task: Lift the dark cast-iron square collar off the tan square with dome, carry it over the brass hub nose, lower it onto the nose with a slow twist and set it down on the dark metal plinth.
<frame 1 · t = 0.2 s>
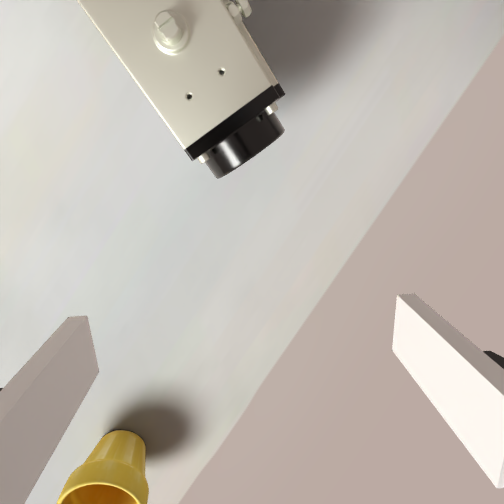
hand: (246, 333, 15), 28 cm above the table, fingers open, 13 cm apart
ball valve: (201, 73, 37), on the table
plant pot: (123, 445, 51), on the table
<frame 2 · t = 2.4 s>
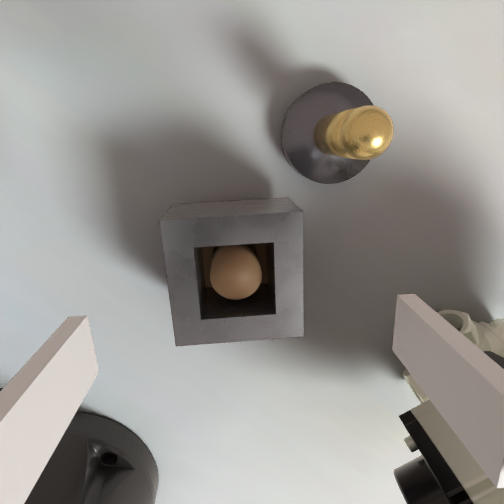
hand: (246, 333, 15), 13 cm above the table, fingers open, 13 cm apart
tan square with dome: (234, 249, 27), on the table
collar: (234, 255, 26), point 1 cm above the table, touching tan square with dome
ball valve: (444, 343, 31), on the table
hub: (326, 135, 25), on the table
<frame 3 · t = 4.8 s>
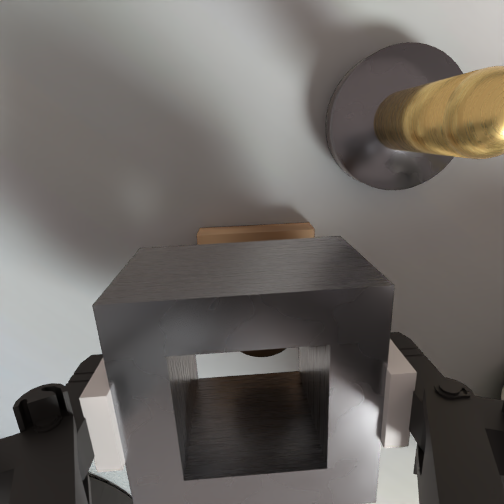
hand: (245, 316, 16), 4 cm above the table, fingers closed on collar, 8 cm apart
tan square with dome: (256, 275, 20), on the table
collar: (246, 330, 15), point 5 cm above the table, touching gripper
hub: (388, 121, 18), on the table
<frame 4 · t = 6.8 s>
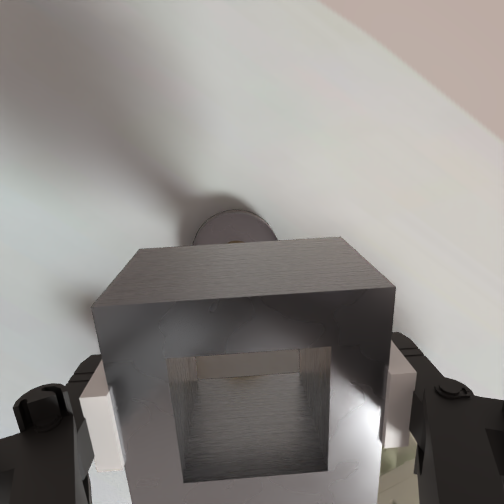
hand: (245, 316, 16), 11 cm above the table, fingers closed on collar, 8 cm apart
collar: (246, 331, 15), point 12 cm above the table, touching gripper
ball valve: (365, 427, 33), on the table
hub: (235, 251, 26), on the table
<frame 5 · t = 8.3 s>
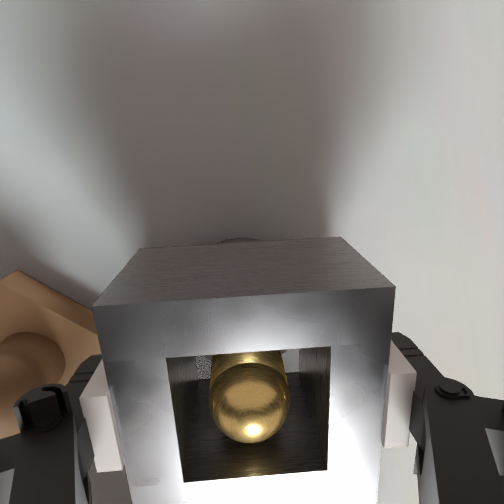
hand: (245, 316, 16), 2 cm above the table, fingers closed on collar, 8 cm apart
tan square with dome: (46, 343, 19), on the table
collar: (246, 331, 15), point 3 cm above the table, touching gripper
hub: (242, 297, 18), on the table
when the fingers open (2 cm above the table, at t = 9.2 s): collar drops 1 cm, resting on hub.
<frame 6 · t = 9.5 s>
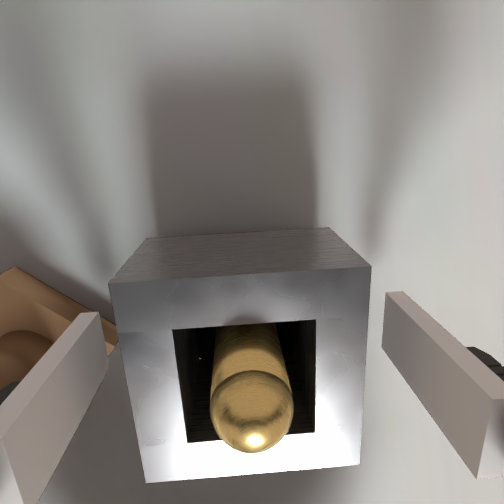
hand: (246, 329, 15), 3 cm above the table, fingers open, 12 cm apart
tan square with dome: (42, 342, 18), on the table
collar: (243, 314, 17), point 1 cm above the table, touching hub
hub: (243, 300, 18), on the table
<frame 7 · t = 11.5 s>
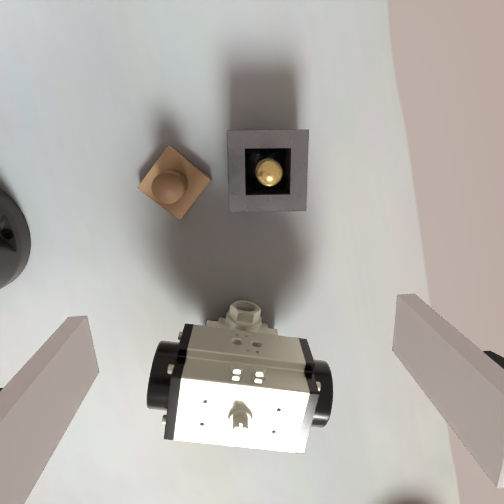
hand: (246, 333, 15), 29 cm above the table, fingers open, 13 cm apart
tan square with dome: (176, 182, 42), on the table
collar: (264, 168, 40), point 1 cm above the table, touching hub
ball valve: (241, 324, 48), on the table
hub: (264, 167, 42), on the table
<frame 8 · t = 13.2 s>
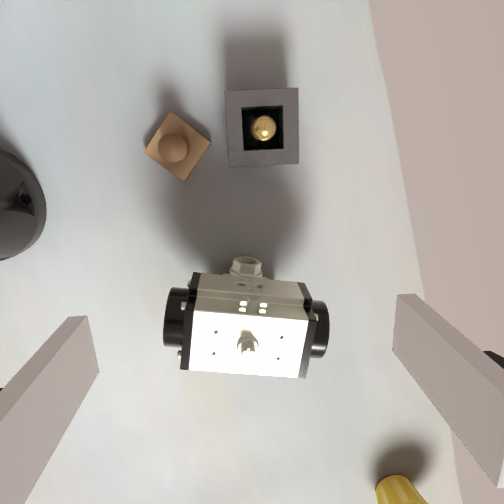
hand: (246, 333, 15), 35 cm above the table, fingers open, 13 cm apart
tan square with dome: (178, 147, 46), on the table
collar: (259, 129, 44), point 1 cm above the table, touching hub
ball valve: (243, 280, 52), on the table
plant pot: (392, 486, 67), on the table
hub: (259, 129, 45), on the table
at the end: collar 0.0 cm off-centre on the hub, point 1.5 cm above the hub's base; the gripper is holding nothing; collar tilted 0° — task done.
